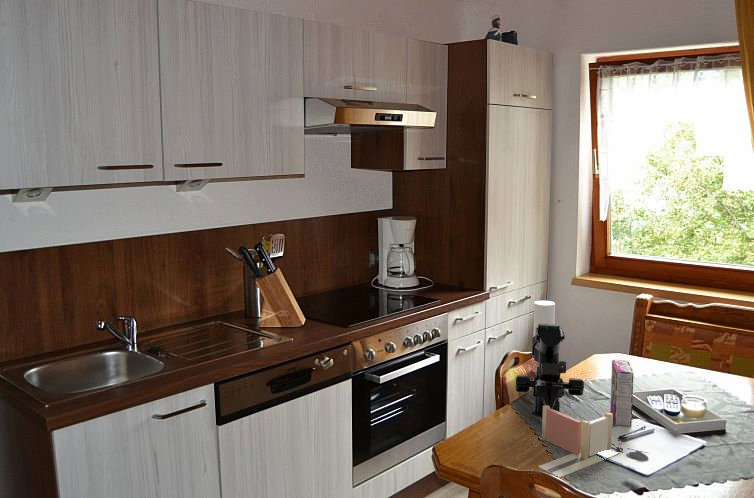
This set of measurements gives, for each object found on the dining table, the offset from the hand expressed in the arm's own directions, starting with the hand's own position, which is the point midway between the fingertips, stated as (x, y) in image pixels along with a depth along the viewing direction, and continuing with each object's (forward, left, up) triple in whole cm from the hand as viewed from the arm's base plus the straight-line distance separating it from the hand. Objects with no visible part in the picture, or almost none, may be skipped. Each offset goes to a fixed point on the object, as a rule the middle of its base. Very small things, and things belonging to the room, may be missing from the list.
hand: (549, 413), depth 196 cm
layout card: (+14, -6, -7) cm, 17 cm away
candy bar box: (+6, +26, -7) cm, 27 cm away
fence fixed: (+15, +1, -7) cm, 16 cm away
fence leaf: (+6, -3, -6) cm, 10 cm away
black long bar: (-35, +42, -7) cm, 55 cm away
